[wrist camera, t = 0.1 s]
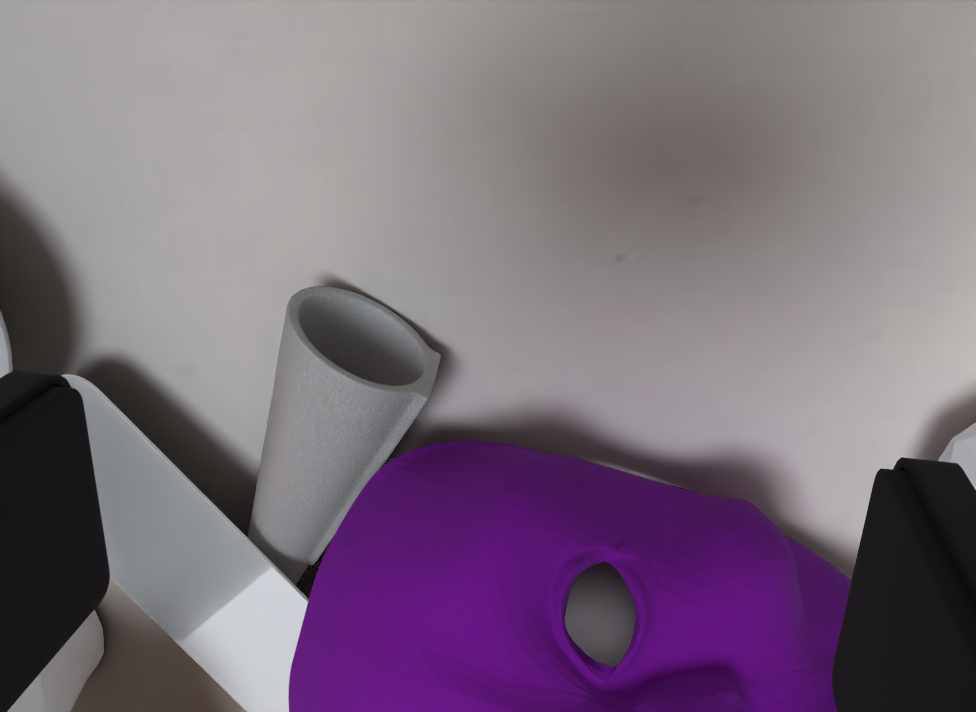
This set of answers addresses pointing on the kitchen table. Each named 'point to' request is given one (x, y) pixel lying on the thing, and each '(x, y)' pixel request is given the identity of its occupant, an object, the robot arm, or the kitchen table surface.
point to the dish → (5, 350)
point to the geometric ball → (963, 452)
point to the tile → (191, 563)
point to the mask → (559, 594)
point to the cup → (65, 672)
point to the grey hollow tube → (333, 418)
